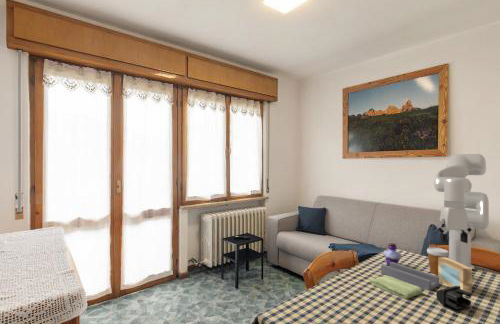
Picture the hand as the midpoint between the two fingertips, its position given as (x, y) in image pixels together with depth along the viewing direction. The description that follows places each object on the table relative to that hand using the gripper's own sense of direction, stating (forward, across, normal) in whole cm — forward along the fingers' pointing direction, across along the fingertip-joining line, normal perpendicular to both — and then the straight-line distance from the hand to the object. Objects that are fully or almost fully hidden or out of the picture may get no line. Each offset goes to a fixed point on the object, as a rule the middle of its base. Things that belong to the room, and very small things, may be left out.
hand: (453, 242), depth 121 cm
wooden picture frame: (+20, 0, 0) cm, 20 cm away
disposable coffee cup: (+20, -4, -15) cm, 26 cm away
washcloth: (+21, +29, +2) cm, 36 cm away
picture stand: (+20, +16, -8) cm, 27 cm away
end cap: (+20, +14, +17) cm, 30 cm away
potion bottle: (+20, +14, -25) cm, 35 cm away
